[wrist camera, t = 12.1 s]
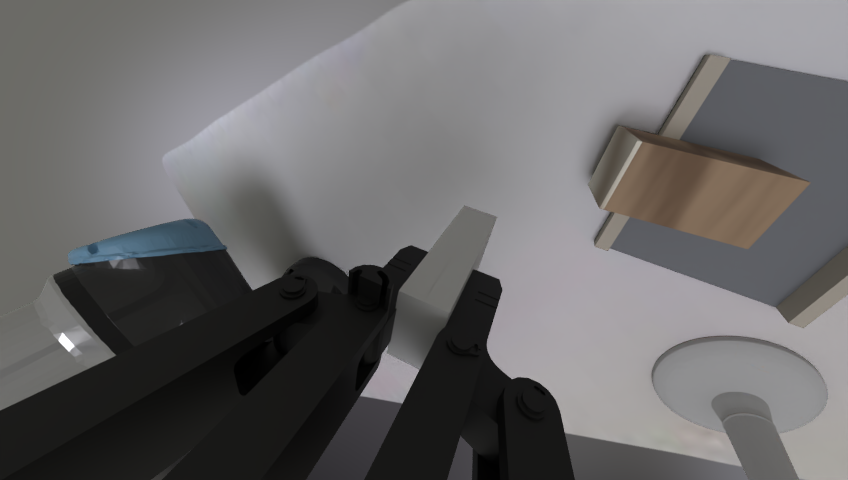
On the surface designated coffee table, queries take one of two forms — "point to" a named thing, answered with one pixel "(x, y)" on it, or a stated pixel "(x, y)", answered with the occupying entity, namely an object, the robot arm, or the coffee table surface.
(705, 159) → the block
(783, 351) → the candlestick
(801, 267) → the grey flat square piece
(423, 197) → the coffee table surface
